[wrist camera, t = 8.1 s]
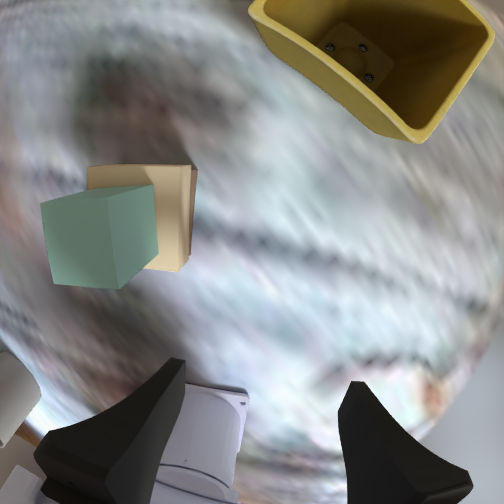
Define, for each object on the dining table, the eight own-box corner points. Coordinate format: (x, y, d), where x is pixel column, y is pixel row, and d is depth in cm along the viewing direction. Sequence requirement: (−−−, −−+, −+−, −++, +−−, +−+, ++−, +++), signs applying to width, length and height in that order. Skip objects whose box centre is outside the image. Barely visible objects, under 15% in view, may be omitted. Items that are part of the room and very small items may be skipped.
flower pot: (254, 68, 17) (240, 9, 9) (329, -9, 15) (356, -82, 6) (359, 150, 19) (420, 149, 10) (426, 67, 16) (499, 34, 8)
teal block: (158, 254, 17) (119, 289, 12) (101, 252, 17) (53, 283, 13) (153, 184, 16) (107, 197, 11) (94, 188, 16) (40, 203, 12)
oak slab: (188, 258, 20) (178, 272, 17) (108, 250, 20) (91, 261, 18) (191, 164, 18) (180, 166, 16) (106, 164, 18) (87, 166, 16)
